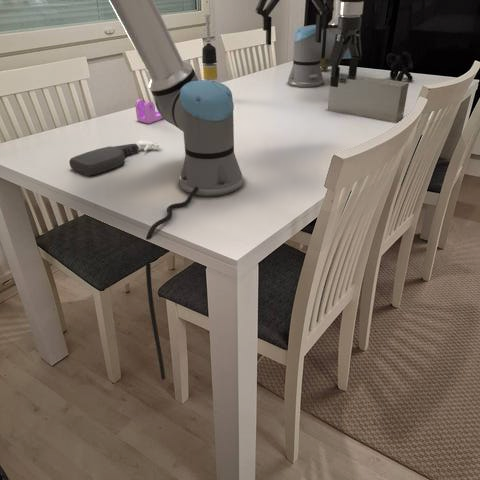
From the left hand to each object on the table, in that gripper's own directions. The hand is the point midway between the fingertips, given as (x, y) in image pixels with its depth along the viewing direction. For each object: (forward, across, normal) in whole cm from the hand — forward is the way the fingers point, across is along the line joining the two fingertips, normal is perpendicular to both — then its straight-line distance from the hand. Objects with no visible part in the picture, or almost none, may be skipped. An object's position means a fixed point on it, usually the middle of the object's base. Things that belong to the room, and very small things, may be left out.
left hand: (293, 43), depth 119 cm
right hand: (+18, -28, -31) cm, 46 cm away
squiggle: (+28, -71, -68) cm, 102 cm away
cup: (+28, -45, -96) cm, 110 cm away
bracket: (+28, +38, -36) cm, 60 cm away
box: (+28, -34, -24) cm, 50 cm away
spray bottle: (+28, +50, +2) cm, 57 cm away
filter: (+28, +16, -57) cm, 66 cm away
